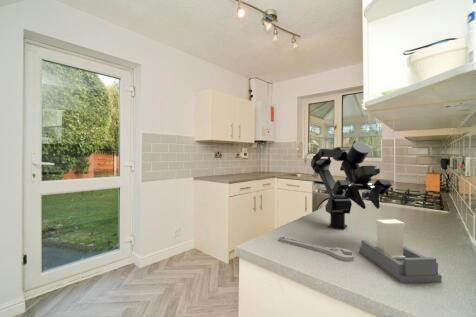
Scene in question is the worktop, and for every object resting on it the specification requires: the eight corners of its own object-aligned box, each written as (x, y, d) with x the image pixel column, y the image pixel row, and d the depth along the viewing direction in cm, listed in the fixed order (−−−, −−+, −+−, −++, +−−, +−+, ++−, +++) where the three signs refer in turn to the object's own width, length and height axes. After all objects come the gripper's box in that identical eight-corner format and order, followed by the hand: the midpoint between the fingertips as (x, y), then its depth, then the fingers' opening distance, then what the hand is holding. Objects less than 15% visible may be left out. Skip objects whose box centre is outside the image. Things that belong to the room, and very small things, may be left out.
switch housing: (359, 251, 74) (359, 234, 73) (389, 250, 74) (389, 233, 74) (402, 282, 56) (402, 260, 55) (441, 281, 56) (441, 259, 56)
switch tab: (374, 252, 69) (374, 219, 69) (393, 251, 69) (393, 218, 69) (385, 259, 64) (386, 224, 64) (406, 259, 64) (406, 223, 64)
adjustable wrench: (276, 242, 83) (276, 237, 83) (286, 237, 88) (286, 233, 88) (350, 264, 66) (350, 258, 66) (357, 256, 71) (357, 251, 71)
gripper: (336, 157, 80) (353, 194, 69) (388, 157, 81) (413, 193, 70) (326, 177, 88) (340, 213, 77) (373, 177, 89) (394, 212, 78)
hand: (371, 208), depth 75 cm, fingers open, 4 cm apart
